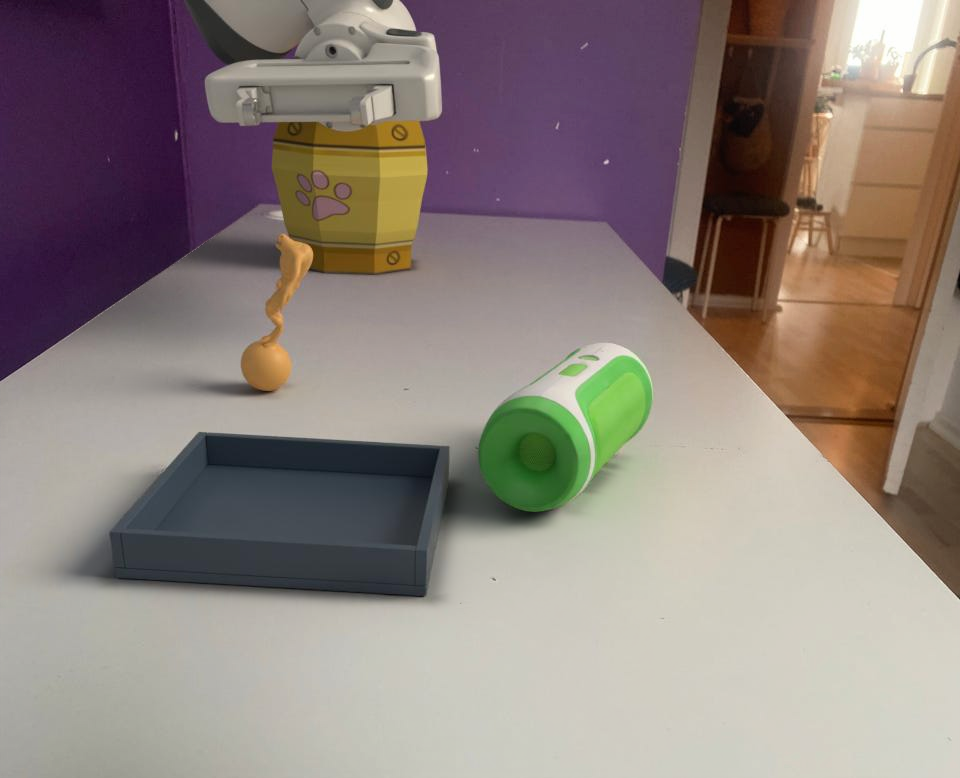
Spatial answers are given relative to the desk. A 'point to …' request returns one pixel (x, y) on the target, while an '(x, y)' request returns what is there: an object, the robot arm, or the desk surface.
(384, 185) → the container
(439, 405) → the desk surface
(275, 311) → the figurine
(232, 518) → the tray
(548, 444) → the speaker
